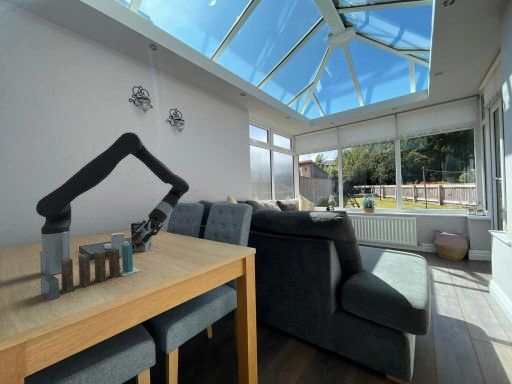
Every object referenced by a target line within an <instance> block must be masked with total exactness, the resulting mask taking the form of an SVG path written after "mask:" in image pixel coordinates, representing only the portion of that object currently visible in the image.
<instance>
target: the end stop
mask: <svg viewBox="0 0 512 384" xmlns="http://www.w3.org/2000/svg"><path fill="white" fill-rule="evenodd" d="M40 294H41V296H43V297H44V298H45V299H46V300H48V301H53V300H57V299H59V298H60V279H59V278H58V277H56V276H54V274H53V275H51V274H49V275H42V276H40Z"/></svg>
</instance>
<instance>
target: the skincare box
mask: <svg viewBox="0 0 512 384" xmlns="http://www.w3.org/2000/svg"><path fill="white" fill-rule="evenodd" d="M124 244H125V232H118V233H111V235H110V248H117V249H119V258H120V257H121V258H122V245H124Z"/></svg>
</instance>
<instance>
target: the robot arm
mask: <svg viewBox="0 0 512 384" xmlns="http://www.w3.org/2000/svg"><path fill="white" fill-rule="evenodd" d="M129 155H132V156H133V157H135V158H136V159H138V160H139V161H140V162H142V163H143V164H144V165H145V166H146V167H147V168H148V169H149V170H150V172H152V174H153V175H154V176H156V177H157V178H158V179H159V180H160V181H161V182H163V183H164V184H165V185H168V184H169V185H170V186H171V188H170V189H169V191H168V192H167V193H166V195H165V196H164V197H163V198H162V199H161V200H160V201H159V202H158V203H157V204H156V205H155V207H154V208H153V209H152V210H151V212H150V213H149V214H148V215H147V217H148V220H147V221H146V220H145V219H144V220H142V221H141V222H142V223H141V224H140V225H139V226H138V227H137V228H136V229H135V230H136V233H135V235H134V236H133V237H132V240H133V241H136V240H137V239H138V238H139V237H140V235H141V234H142V233H144V232H147V231H148V234H146V235H145V236H144V238H143V239H142V240H141V241H142V242H143V243H147V241H148V240H149V239H150V237H151V236H152V237H154V236H157V235H158V233H159V232H160V230H161V229H162V227H164V225H163V224H164V223H165V221H166V220H167V219H168V217H169V216H170V215H171V213H172V212H173V210H174V209H175V208H176V206H177V205H178V203H179V200H180V199H181V198H182V197H183V195H185V194H186V193H188V192H189V190H190V185H189V183H188V182H187V181H186V180H185V179H184V178H183V177H181V176H179V175H178V174H176V173H174V171H172V170H171V169H170V168H169V167H168V166H167V165H166V164H164V162H163V161H161V160H160V159H158V158H157V157H156V156H155V155H153V154H152V153H151V152H150V151H149V149H148V148H147V147H146V146H145V145H144V143H143V141H142V139H141V138H140V137H139V135H138V134H136V133H134V132H124V133H122V134H121V135H120V136H119V137H118V138H117V139H116V140H115V141H114V142H113V143H112V144H111V145H110V146H109V147H108V148H107V149H105V150H104V151H103V152H101V153H100V154H99V155H97V156H95V158H93V159H92V160H90V161H89V162H88V163H87V164H85V165H83V166H82V167H81V168H80V169H79V170H78V171H77V172H76V173H75V174H73V175H72V176H71V177H70V178H68V179H67V180H66V181H65V182H64V183H63V184H61V185H59V187H57V188H56V189H54V190H53V191H51V192H50V193H48V194H47V195H45V196H44V197H42V198H41V199H39V200H38V201H37V204H36V206H35V210H36V213H37V214H38V215H39V216H41V217H43V218H45V221H44V224H43V226H41V229H40V230H41V231H40V232H41V234H40V235H41V251H39V261H40V262H39V263H40V274H41V275H42V276H45V275H49V274H51V275H53V276H54V275H58V274H62V272H61V259H62V258H67V257H68V258H70V259H72V258H71V256H72V255H71V231H70V230H71V229H70V227H71V225H72V205H71V202H73V201H74V200H76V198H78V197H79V196H80V195H83V194H84V193H86V192H88V191H90V190H91V189H94V188H95V187H97V186H98V185H99V184H100V183H102V182H103V181H104V180H105V179H107V178H108V177H109V176H110V174H112V172H113V171H114V169H115V168H116V167H117V166H118V164H120V163H121V161H122V160H124V159H125V158H126V157H128V156H129ZM142 230H143V231H142ZM141 231H142V232H141ZM132 240H131V241H132Z"/></svg>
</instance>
